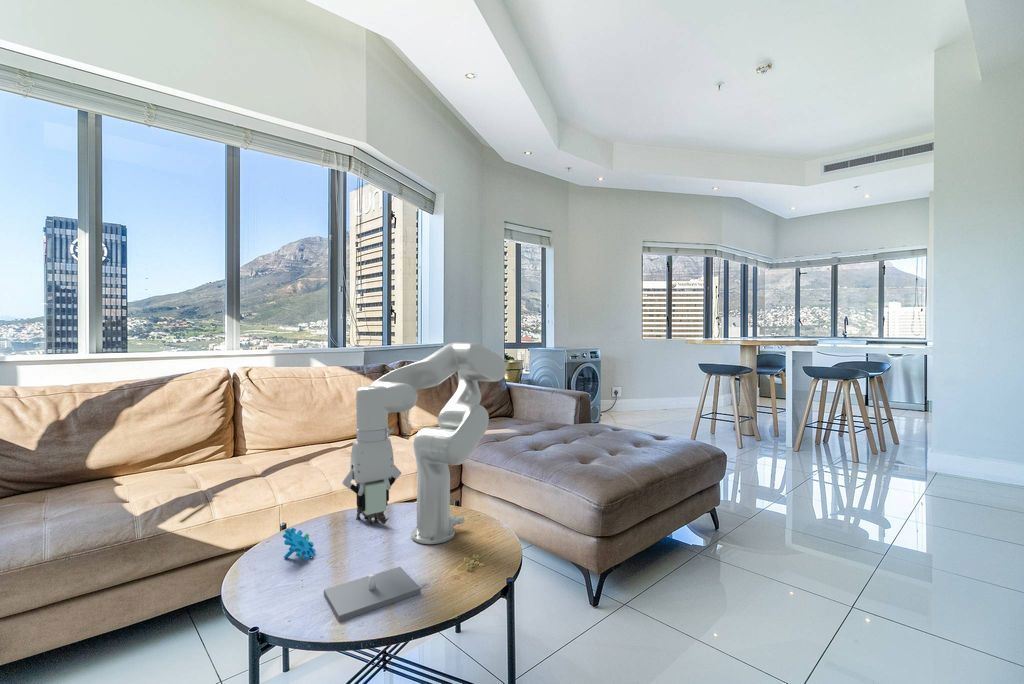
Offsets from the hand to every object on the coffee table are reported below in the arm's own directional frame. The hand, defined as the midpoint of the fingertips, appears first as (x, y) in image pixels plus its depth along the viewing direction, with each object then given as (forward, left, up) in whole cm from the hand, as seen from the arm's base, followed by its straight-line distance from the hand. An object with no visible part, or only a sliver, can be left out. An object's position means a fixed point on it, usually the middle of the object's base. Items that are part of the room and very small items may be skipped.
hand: (373, 506), depth 117 cm
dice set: (-21, +14, -16) cm, 30 cm away
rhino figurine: (-9, -27, -16) cm, 32 cm away
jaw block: (0, 0, -1) cm, 1 cm away
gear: (+14, -16, -16) cm, 26 cm away
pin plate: (+4, +12, -15) cm, 20 cm away
